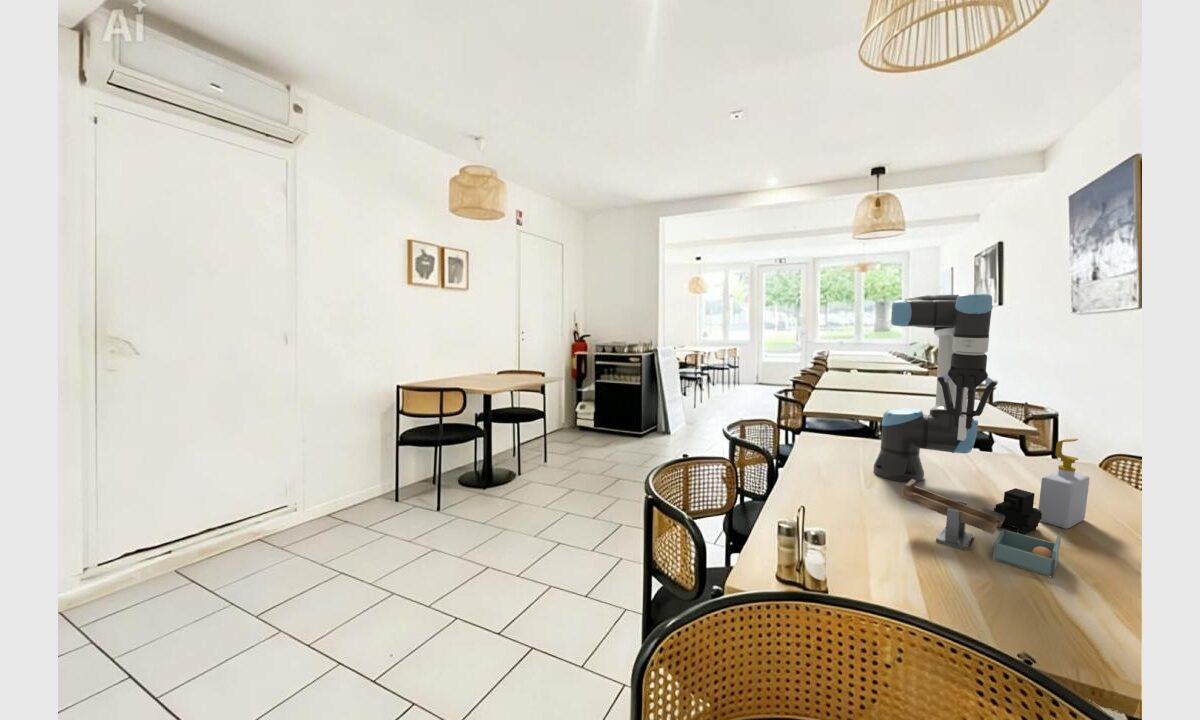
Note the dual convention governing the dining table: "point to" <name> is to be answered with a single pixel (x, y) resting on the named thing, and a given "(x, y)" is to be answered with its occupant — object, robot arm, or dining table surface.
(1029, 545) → the tray
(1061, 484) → the soap bottle
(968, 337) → the robot arm
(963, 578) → the dining table surface
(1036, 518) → the toy
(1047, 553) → the ball
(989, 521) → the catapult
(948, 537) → the stand
